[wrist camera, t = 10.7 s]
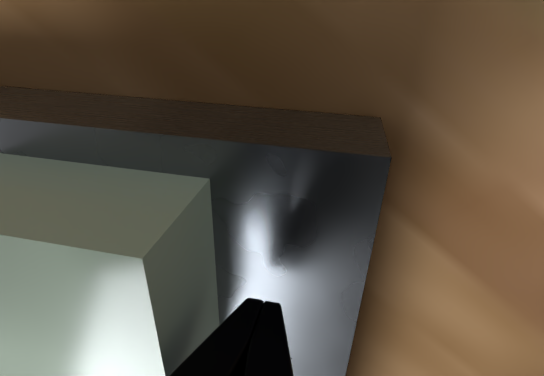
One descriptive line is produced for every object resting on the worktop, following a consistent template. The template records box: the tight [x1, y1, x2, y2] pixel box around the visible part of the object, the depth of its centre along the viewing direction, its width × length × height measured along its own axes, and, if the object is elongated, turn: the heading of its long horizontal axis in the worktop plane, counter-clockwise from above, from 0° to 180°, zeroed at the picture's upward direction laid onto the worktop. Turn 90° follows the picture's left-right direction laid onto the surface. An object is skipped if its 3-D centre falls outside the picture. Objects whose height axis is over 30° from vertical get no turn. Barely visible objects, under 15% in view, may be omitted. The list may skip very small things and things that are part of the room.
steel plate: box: [0, 86, 391, 376], centre depth 13 cm, size 16×14×3 cm
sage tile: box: [0, 153, 219, 376], centre depth 9 cm, size 6×6×3 cm
